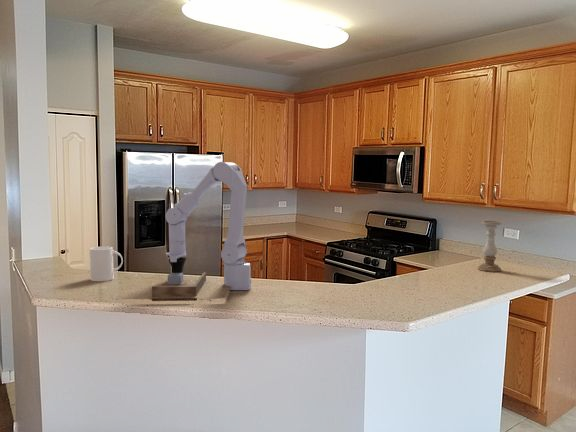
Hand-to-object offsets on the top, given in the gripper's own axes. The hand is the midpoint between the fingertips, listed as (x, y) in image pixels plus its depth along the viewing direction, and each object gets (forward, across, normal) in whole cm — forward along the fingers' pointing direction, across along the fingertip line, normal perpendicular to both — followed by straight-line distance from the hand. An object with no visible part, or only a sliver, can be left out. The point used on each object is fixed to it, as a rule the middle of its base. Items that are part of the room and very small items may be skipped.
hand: (178, 278), depth 164 cm
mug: (+2, -9, -29) cm, 30 cm away
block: (+1, +4, 0) cm, 4 cm away
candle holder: (+2, -21, +125) cm, 127 cm away
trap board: (+2, +11, +3) cm, 12 cm away
